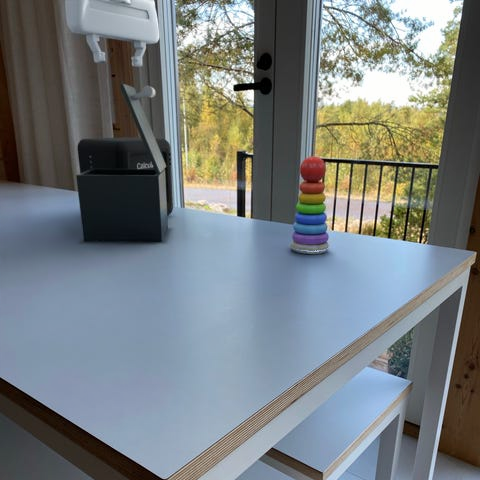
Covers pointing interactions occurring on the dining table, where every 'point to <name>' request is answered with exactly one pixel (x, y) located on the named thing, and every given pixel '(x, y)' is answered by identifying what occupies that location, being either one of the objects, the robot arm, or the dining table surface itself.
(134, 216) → the waste bin
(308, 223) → the stacking toy
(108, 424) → the dining table surface
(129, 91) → the bin lid
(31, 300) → the dining table surface
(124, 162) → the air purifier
